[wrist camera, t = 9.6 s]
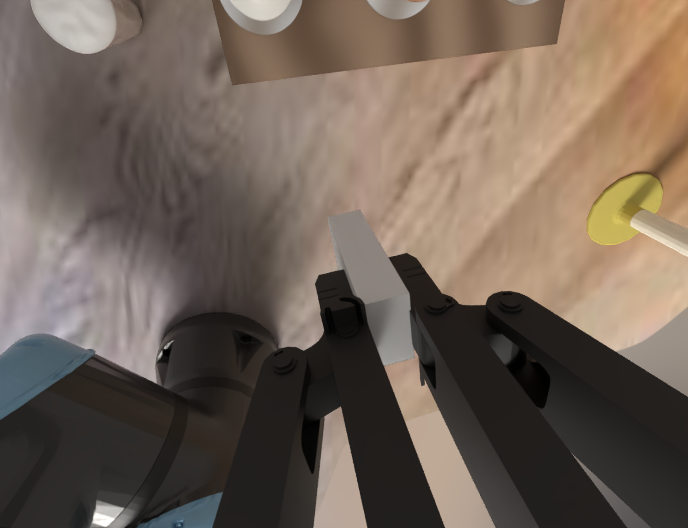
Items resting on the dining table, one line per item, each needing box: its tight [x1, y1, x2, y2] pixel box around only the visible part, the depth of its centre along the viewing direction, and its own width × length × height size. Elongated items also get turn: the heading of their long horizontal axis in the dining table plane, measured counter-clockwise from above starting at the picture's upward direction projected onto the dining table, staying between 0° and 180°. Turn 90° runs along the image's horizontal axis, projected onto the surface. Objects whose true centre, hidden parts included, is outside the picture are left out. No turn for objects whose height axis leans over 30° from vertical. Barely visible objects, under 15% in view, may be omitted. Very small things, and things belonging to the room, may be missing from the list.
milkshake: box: [30, 0, 143, 54], centre depth 25 cm, size 4×5×10 cm
